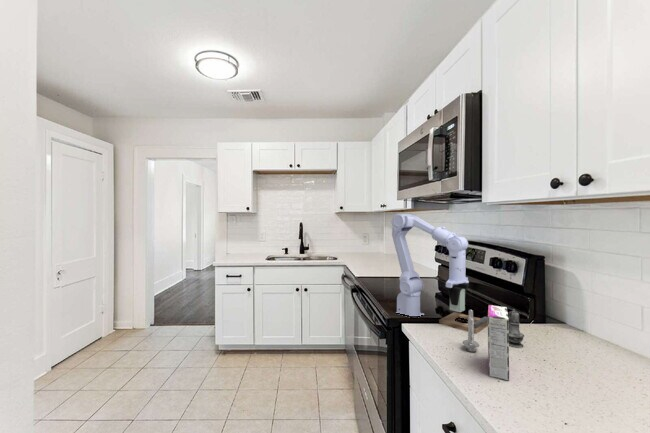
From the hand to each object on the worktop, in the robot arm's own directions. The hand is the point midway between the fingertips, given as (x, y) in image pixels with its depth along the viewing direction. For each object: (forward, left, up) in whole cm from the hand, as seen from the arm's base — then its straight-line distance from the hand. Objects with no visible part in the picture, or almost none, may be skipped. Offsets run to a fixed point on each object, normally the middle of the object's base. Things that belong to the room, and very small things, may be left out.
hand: (457, 303), depth 113 cm
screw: (+11, -15, -10) cm, 21 cm away
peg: (0, 0, -2) cm, 2 cm away
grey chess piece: (+19, 0, -10) cm, 21 cm away
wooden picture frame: (0, +7, -9) cm, 12 cm away
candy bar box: (+21, -22, -10) cm, 32 cm away
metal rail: (+6, +7, -8) cm, 12 cm away
